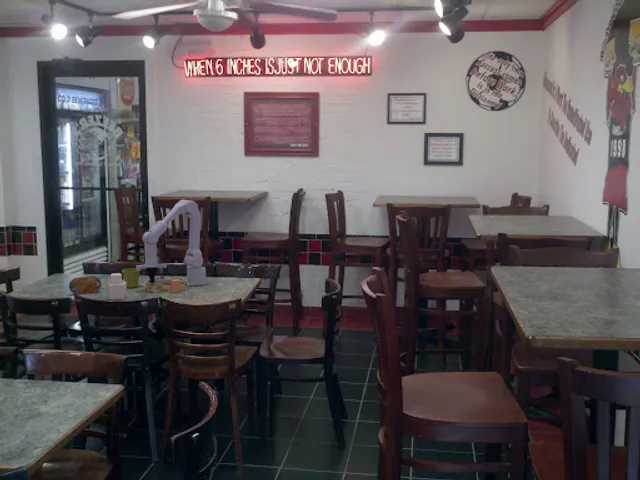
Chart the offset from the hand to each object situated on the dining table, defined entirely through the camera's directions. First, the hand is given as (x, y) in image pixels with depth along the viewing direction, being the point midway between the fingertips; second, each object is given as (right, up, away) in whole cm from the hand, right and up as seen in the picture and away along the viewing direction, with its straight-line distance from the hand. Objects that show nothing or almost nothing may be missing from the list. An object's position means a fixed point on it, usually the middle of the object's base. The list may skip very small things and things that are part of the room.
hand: (152, 282), depth 353 cm
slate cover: (+5, 0, +2) cm, 5 cm away
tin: (-31, -5, -6) cm, 32 cm away
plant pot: (-13, -3, +10) cm, 16 cm away
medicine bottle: (-12, -6, -17) cm, 22 cm away
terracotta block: (+13, -4, -4) cm, 14 cm away
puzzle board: (+6, -3, +3) cm, 7 cm away
